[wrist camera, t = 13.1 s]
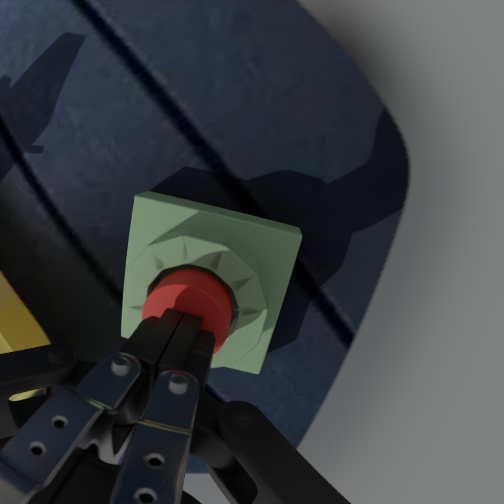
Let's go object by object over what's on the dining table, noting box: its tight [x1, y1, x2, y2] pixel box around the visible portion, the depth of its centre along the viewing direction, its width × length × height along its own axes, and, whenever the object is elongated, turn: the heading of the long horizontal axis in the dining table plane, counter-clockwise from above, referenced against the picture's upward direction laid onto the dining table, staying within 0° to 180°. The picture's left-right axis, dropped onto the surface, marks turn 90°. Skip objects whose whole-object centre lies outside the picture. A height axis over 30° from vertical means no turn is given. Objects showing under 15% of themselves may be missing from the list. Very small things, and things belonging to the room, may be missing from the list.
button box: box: [121, 191, 302, 374], centre depth 15 cm, size 8×8×4 cm
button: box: [142, 269, 233, 355], centre depth 13 cm, size 4×4×2 cm
